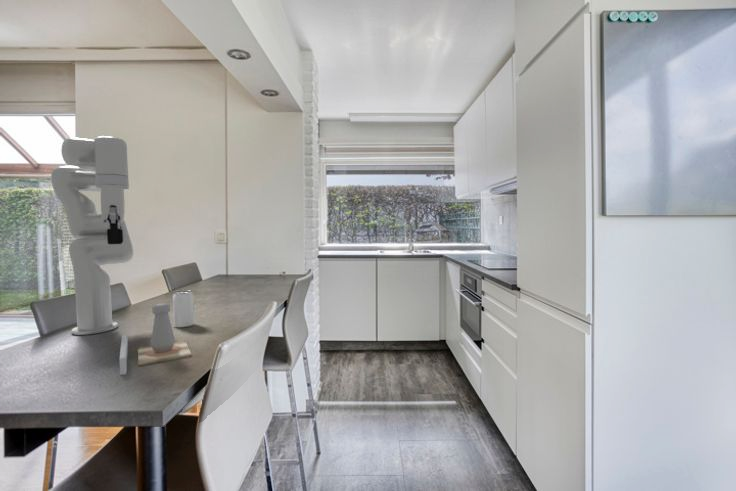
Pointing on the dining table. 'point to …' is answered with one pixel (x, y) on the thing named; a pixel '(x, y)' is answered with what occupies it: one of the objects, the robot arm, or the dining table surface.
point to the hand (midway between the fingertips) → (115, 243)
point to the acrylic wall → (123, 355)
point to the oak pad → (163, 354)
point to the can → (183, 309)
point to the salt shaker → (162, 329)
